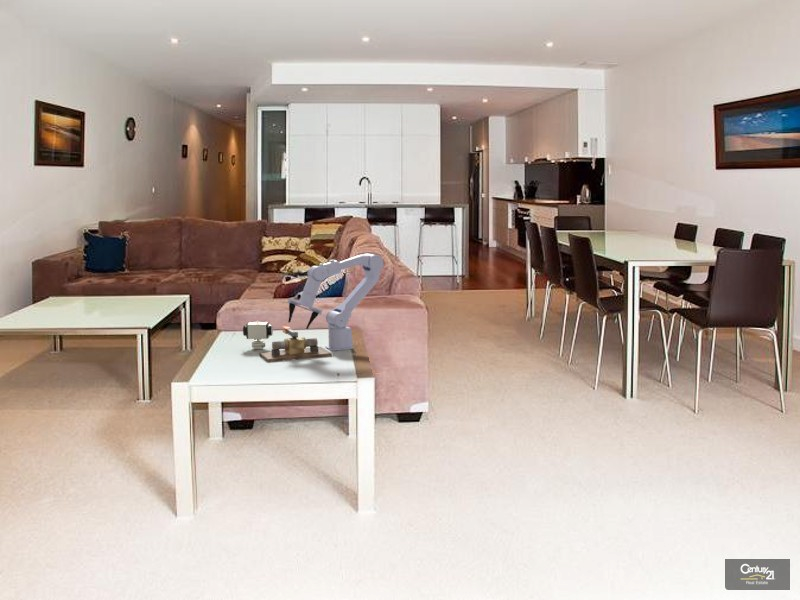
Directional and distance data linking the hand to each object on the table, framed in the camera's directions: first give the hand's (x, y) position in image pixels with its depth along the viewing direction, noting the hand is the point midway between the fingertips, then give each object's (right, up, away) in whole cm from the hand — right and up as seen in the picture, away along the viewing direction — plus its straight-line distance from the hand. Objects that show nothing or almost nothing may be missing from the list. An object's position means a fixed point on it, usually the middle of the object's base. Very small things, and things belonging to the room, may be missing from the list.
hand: (297, 325), depth 326 cm
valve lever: (-3, -4, +1) cm, 5 cm away
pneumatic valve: (-18, -10, +11) cm, 23 cm away
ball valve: (-1, -12, -4) cm, 13 cm away
